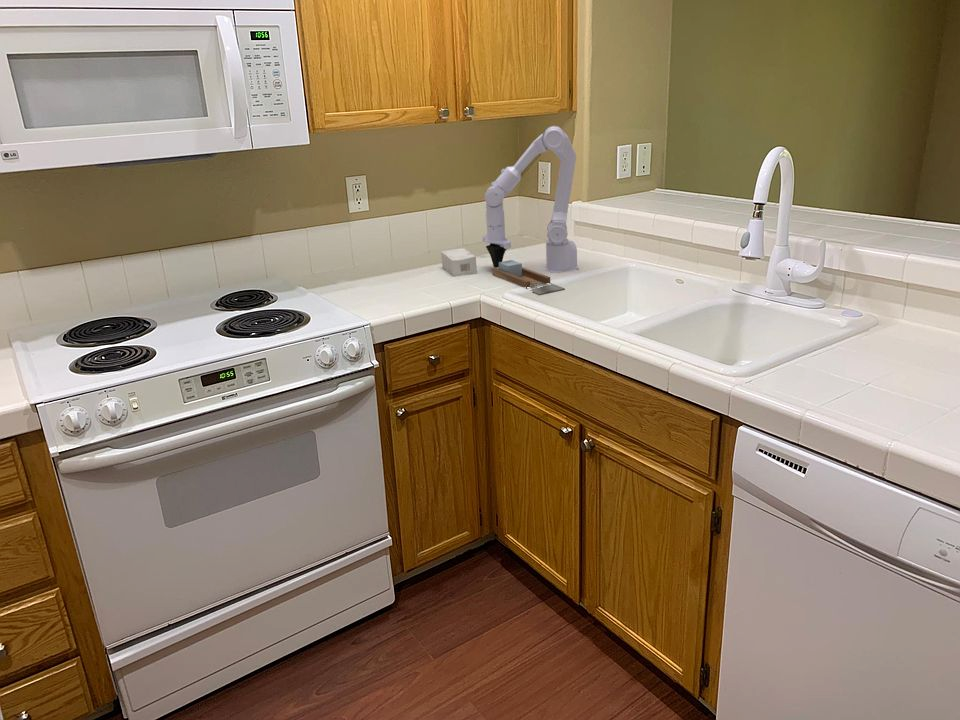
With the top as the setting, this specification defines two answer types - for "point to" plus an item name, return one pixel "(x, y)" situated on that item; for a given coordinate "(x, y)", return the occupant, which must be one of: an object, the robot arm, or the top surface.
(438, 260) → the top surface
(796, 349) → the top surface
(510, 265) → the block
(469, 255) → the skincare box
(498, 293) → the top surface
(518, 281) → the chute
